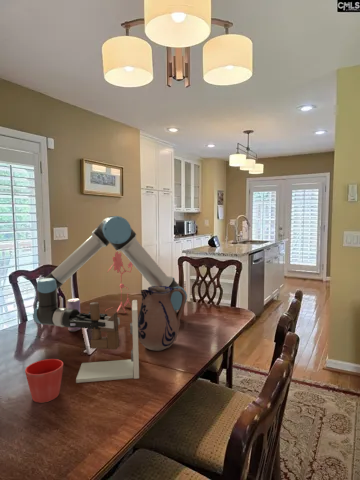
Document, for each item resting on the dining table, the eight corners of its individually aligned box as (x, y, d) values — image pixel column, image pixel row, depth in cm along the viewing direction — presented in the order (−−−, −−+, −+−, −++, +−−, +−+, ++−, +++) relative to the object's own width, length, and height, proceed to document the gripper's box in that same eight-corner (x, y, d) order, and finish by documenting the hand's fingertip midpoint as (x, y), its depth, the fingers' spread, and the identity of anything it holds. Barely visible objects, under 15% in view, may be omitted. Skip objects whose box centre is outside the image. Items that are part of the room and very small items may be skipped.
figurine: (139, 304, 200) (136, 248, 197) (121, 317, 175) (117, 254, 173) (116, 303, 204) (114, 249, 201) (96, 316, 179) (92, 254, 177)
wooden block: (116, 350, 124) (112, 304, 123) (90, 348, 126) (87, 304, 125) (119, 346, 128) (116, 301, 126) (95, 345, 130) (91, 301, 129)
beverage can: (83, 328, 160) (82, 298, 159) (75, 332, 155) (74, 301, 153) (73, 326, 162) (72, 297, 161) (65, 331, 156) (64, 300, 155)
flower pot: (34, 387, 105) (32, 359, 104) (68, 385, 106) (67, 357, 105) (21, 407, 95) (19, 375, 94) (59, 404, 96) (57, 373, 95)
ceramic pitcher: (132, 342, 141) (131, 286, 139) (176, 334, 149) (175, 282, 147) (144, 358, 125) (142, 295, 123) (192, 349, 133) (192, 290, 131)
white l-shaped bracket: (138, 361, 123) (137, 299, 121) (139, 378, 110) (137, 310, 108) (82, 365, 120) (79, 302, 118) (75, 383, 107) (72, 313, 105)
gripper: (80, 320, 141) (127, 325, 133) (53, 333, 126) (104, 340, 118) (79, 303, 141) (126, 307, 133) (52, 315, 125) (103, 320, 117)
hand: (116, 323), depth 125 cm, fingers closed on wooden block, 3 cm apart
